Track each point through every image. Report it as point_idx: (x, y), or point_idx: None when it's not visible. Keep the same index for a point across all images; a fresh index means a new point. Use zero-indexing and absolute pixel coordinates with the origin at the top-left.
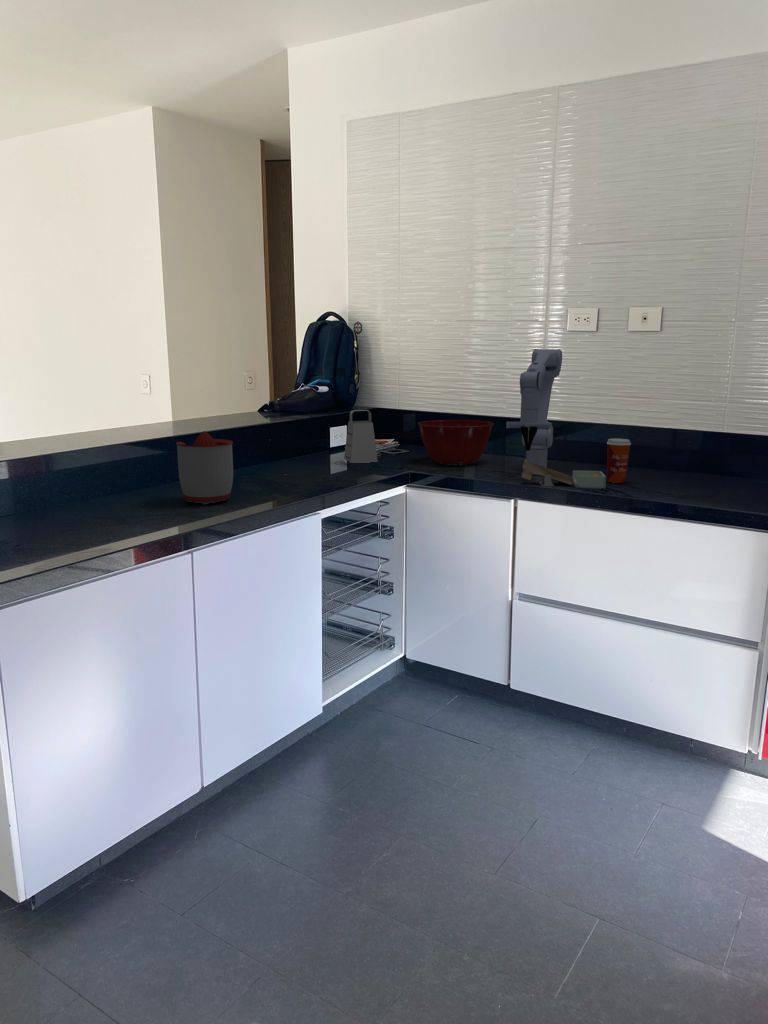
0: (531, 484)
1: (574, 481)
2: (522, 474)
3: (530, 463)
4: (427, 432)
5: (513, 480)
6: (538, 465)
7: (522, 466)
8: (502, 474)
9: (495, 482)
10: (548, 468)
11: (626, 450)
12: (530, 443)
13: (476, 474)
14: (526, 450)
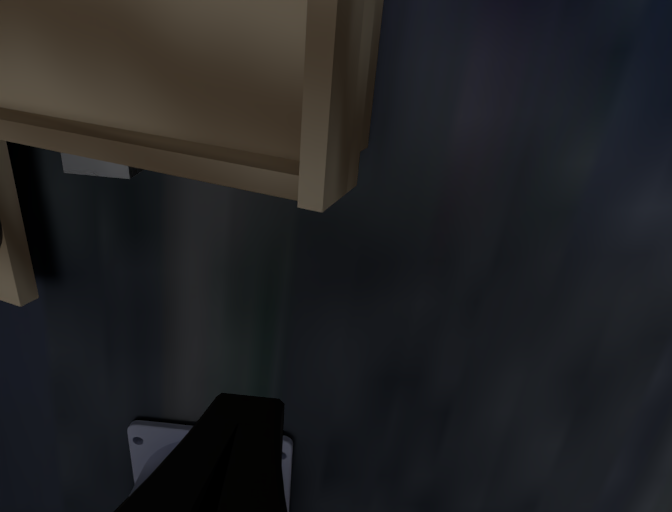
0: None
1: None
2: (371, 44)
3: (252, 162)
4: None
5: (418, 219)
6: (155, 146)
7: (358, 163)
8: (451, 446)
9: (615, 109)
10: (53, 149)
11: None
12: (172, 474)
13: (648, 445)
14: (273, 398)
